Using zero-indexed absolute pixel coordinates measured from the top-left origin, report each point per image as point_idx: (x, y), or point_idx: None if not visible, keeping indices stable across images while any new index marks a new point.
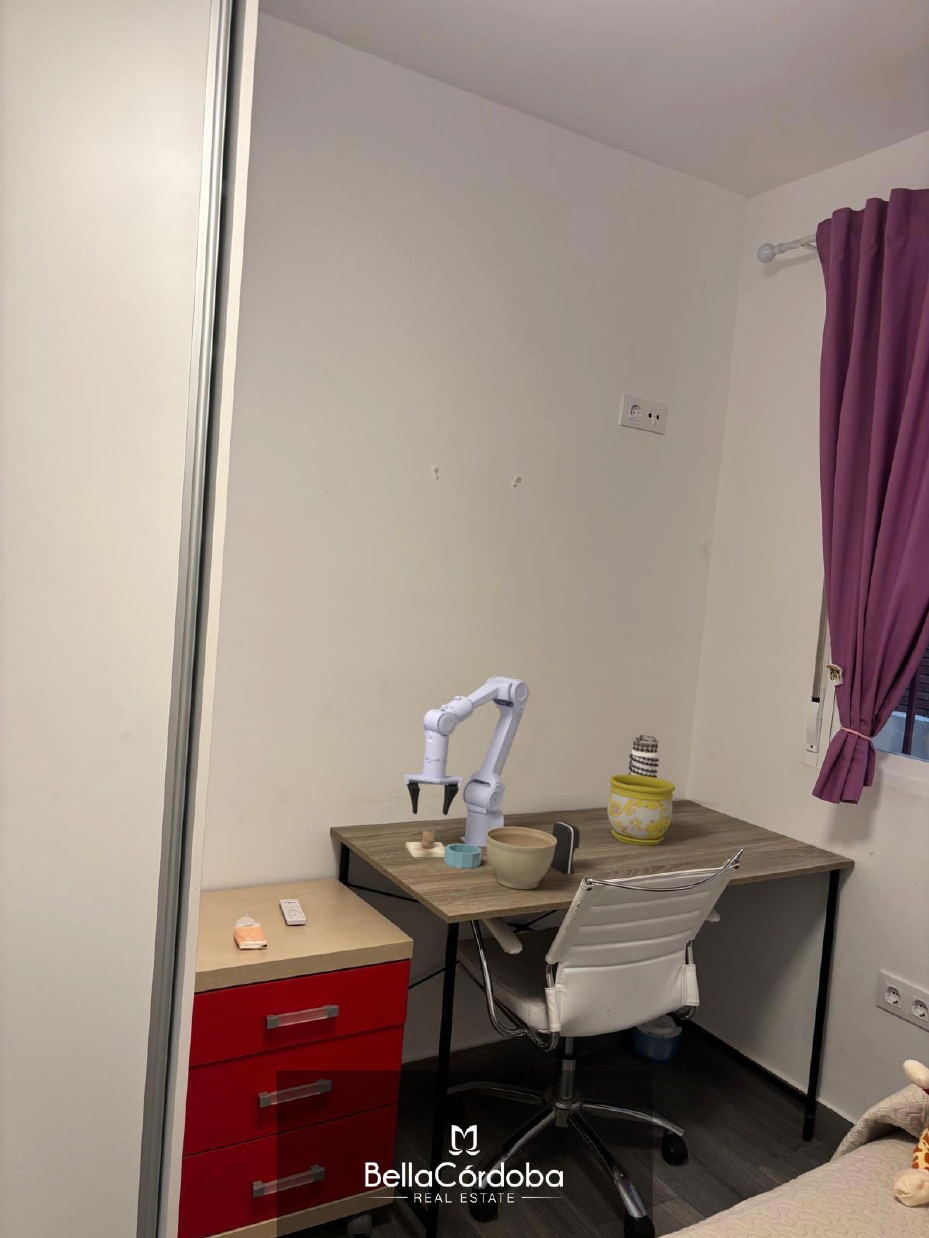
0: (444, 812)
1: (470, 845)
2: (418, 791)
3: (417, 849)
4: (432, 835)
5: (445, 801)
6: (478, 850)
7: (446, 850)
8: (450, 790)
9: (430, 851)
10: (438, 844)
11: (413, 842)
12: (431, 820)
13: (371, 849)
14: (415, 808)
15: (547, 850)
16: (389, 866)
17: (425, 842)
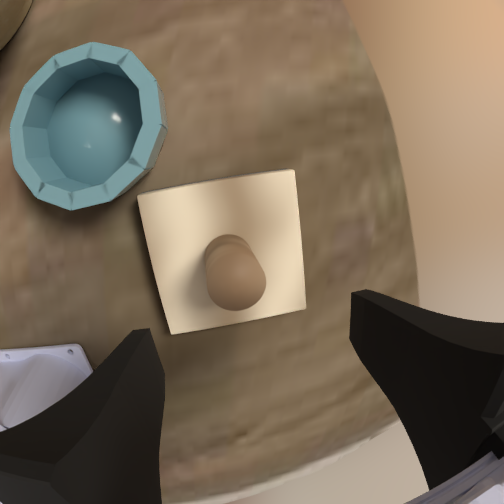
0: (150, 344)
1: (43, 187)
2: (487, 346)
3: (273, 220)
4: (216, 259)
5: (142, 420)
6: (21, 119)
7: (159, 98)
8: (50, 455)
9: (219, 200)
10: (179, 306)
11: (277, 309)
12: (200, 498)
13: (400, 261)
14: (385, 298)
15: None
16: (370, 87)
17: (244, 244)
